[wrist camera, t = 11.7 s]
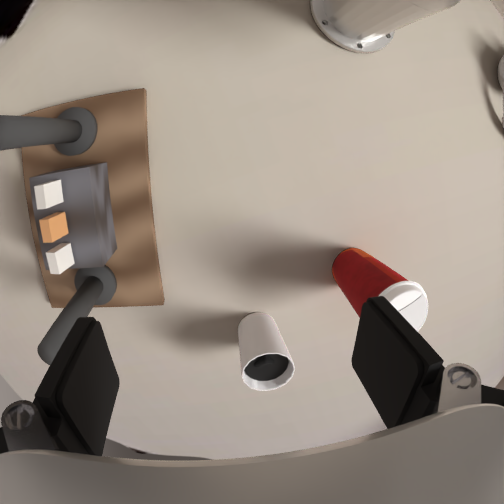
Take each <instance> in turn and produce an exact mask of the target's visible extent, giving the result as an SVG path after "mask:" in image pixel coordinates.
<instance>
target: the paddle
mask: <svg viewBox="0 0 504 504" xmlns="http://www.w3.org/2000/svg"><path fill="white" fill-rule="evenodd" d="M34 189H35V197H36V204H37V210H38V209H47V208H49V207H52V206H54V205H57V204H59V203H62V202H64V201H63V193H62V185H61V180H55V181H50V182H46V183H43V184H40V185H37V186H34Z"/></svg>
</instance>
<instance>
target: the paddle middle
mask: <svg viewBox="0 0 504 504" xmlns="http://www.w3.org/2000/svg"><path fill="white" fill-rule="evenodd" d="M39 222H40V228H41V233H42V238H43V243H53V242H54V241H56V240H58V239H59V238H61V237H63V236H65V235H67V234H68V227H67V221H66V215H65V212H56V213H54V214H52V215H49V216H47V217H45V218H43V219H40V220H39Z"/></svg>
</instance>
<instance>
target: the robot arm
mask: <svg viewBox="0 0 504 504" xmlns="http://www.w3.org/2000/svg"><path fill="white" fill-rule="evenodd" d="M459 1H460V0H311V2H310V5H311V12H312V15H313V18H314V20H315V22H316V24H317V26H318V27H319V28H320V30H321V31H322V32H323V33H324V34H325V35H326V36H327V37H328V38H329V39H330V40H332V41H333V42H334V43H335V44H337V45H339V46H341V47H342V48H345V49H347V50H350V51H353V52H357V53H372V52H376V51H379V50H381V49H383V48H385V47H386V46H387V45H388V44H389V43H390V42H391V40H392V39H393V36H394V33H395V30H398V29H400V28H402V27H404V26H406V25H409V24H411V23H413V22H416V21H418V20H421V19H423V18H425V17H428V16H430V15H433V14H435V13H438V12H441V11H443V10H446V9H448V8H451V7H453V6H455V5H456V4H457V3H458V2H459ZM490 1H491V2H492V4H493V5H494V6H495V7H496V9H497V10H498V11H499V13H500V14H501V16H502V17H503V18H504V0H490ZM322 23H323V24H324V25H323V24H322ZM357 46H358V47H357ZM442 364H443V359H442V358H441V357H440V356H439V355H438V354H437V353H436V352H435V350H434V349H433V348H432V347H431V346H430V345H429V344H428V343H427V342H426V341H425V339H424V338H423V337H422V336H421V335H420V334H419V333H418V332H417V331H416V330H415V329H414V328H413V326H412V325H411V324H410V323H409V322H408V321H407V320H406V319H405V318H404V317H403V316H402V315H401V314H400V313H399V312H398V311H397V310H396V308H395V307H394V306H393V305H392V304H391V303H390V302H389V301H388V300H387V299H386V298H385V297H384V296H377V297H370V298H368V299H367V300H366V302H364V303H363V305H362V309H361V315H360V321H359V326H358V331H357V336H356V341H355V346H354V351H353V355H352V366H353V368H354V370H355V372H356V374H357V375H358V377H359V379H360V381H361V382H362V384H363V386H364V388H365V389H366V391H367V393H368V395H369V396H370V398H371V400H372V402H373V404H374V405H375V407H376V409H377V411H378V413H379V414H380V416H381V418H382V420H383V422H384V423H385V425H386V427H387V429H386V430H383V431H380V432H376V433H373V434H369V435H366V436H362V437H358V438H355V439H351V440H347V441H343V442H338V443H334V444H329V445H325V446H320V447H315V448H310V449H304V450H299V451H293V452H286V453H280V454H273V455H265V456H256V457H247V458H235V459H221V460H199V461H162V460H160V461H159V460H139V459H125V458H113V457H103V456H102V453H103V448H104V444H105V440H106V435H107V431H108V427H109V423H110V419H111V415H112V411H113V407H114V404H115V400H116V396H117V392H118V389H119V377H118V374H117V371H116V369H115V366H114V363H113V360H112V357H111V354H110V352H109V349H108V346H107V342H106V339H105V336H104V333H103V330H102V327H101V324H100V322H99V321H96V320H95V318H94V317H79V318H78V319H77V320H76V322H75V323H74V325H73V327H72V328H71V330H70V332H69V333H68V335H67V337H66V338H65V340H64V342H63V344H62V345H61V347H60V349H59V351H58V352H57V354H56V356H55V358H54V360H53V361H52V363H51V365H50V367H49V369H48V371H47V372H46V374H45V376H44V378H43V380H42V382H41V384H40V386H39V388H38V390H37V392H36V394H35V399H34V401H33V403H32V402H30V401H27V400H20V401H16V402H14V403H12V404H11V405H9V406H8V407H7V408H6V409H5V410H4V412H3V414H2V417H1V424H2V427H1V428H0V504H504V390H500V389H496V388H492V387H488V386H484V385H481V379H480V376H479V374H478V372H477V371H476V370H475V369H474V368H472V367H470V366H469V365H466V364H461V363H454V364H451V365H448V366H447V367H446V368H445V367H444V366H443V365H442Z"/></svg>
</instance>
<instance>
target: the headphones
mask: <svg viewBox="0 0 504 504" xmlns="http://www.w3.org/2000/svg"><path fill="white" fill-rule="evenodd" d="M498 80H499V83H500V85H501V87H502V89H503V111H504V55H503V57H502V58H501V60H500V62H499V65H498ZM502 125H503V128H504V113H503V117H502Z"/></svg>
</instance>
